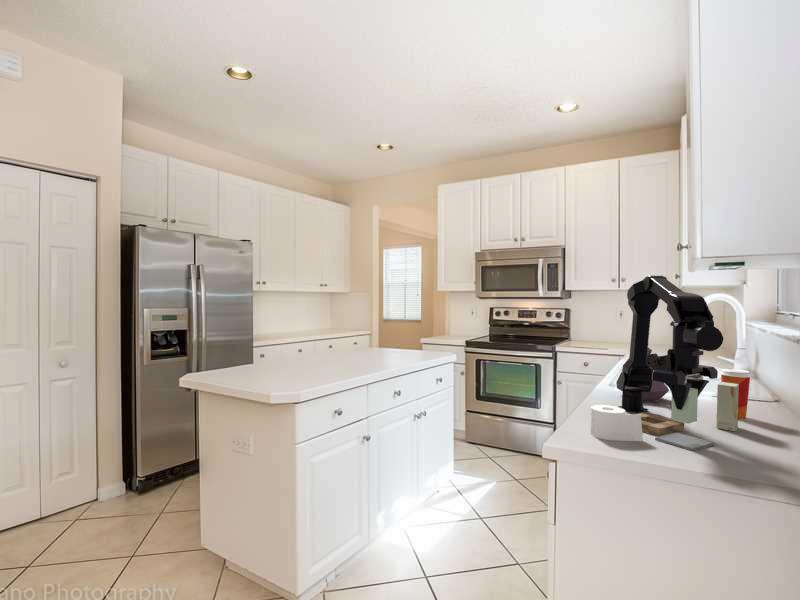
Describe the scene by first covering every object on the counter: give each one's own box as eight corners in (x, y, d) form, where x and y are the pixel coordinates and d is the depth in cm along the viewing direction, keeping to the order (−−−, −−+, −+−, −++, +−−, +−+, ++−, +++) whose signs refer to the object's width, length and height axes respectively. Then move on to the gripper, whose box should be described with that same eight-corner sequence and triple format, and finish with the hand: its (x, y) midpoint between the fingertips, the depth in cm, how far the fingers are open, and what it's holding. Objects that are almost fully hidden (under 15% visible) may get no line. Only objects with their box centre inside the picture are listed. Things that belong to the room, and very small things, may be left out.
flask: (660, 407, 147) (661, 346, 147) (609, 397, 159) (610, 341, 159) (677, 399, 158) (678, 342, 157) (628, 391, 170) (629, 338, 170)
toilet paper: (643, 441, 112) (643, 413, 112) (597, 439, 113) (597, 412, 113) (628, 431, 121) (628, 405, 121) (585, 430, 121) (586, 404, 121)
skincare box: (735, 432, 121) (736, 386, 121) (715, 428, 124) (716, 384, 124) (738, 426, 126) (739, 383, 125) (719, 423, 129) (720, 381, 128)
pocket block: (643, 419, 132) (643, 412, 132) (684, 430, 122) (684, 422, 122) (618, 424, 127) (618, 417, 126) (659, 436, 116) (659, 428, 116)
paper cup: (714, 412, 141) (715, 367, 141) (741, 413, 139) (743, 369, 139) (726, 419, 133) (727, 372, 133) (756, 421, 132) (757, 373, 132)
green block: (680, 417, 115) (681, 386, 114) (697, 421, 111) (697, 389, 111) (671, 419, 113) (672, 387, 112) (687, 423, 109) (688, 390, 109)
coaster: (675, 434, 118) (675, 432, 118) (713, 445, 110) (713, 442, 110) (655, 439, 114) (655, 437, 114) (692, 451, 106) (692, 448, 106)
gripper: (674, 340, 123) (673, 397, 123) (632, 344, 114) (630, 405, 114) (719, 345, 113) (717, 406, 114) (677, 349, 104) (675, 416, 105)
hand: (684, 408), depth 112 cm, fingers closed on green block, 4 cm apart
